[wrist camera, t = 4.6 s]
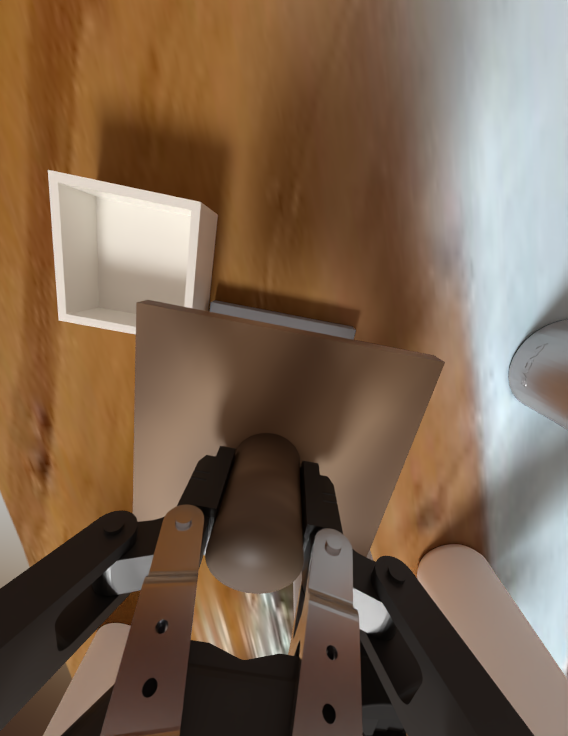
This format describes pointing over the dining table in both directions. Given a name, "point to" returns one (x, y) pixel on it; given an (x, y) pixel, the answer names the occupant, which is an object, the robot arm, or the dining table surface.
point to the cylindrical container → (91, 676)
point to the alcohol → (498, 635)
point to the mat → (283, 319)
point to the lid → (270, 430)
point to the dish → (126, 250)
